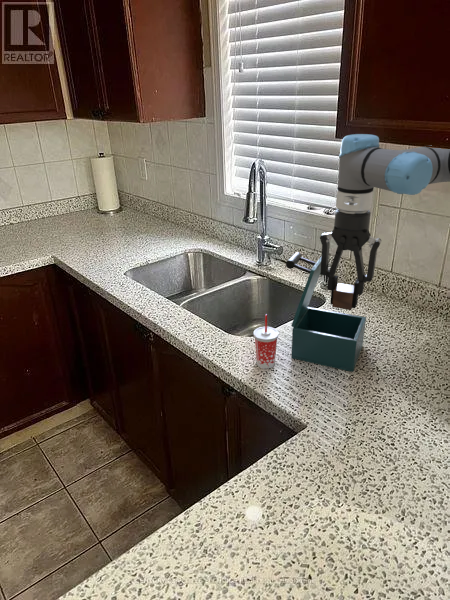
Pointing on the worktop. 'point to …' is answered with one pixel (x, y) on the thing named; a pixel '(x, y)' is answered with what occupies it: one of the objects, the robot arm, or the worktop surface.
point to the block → (343, 296)
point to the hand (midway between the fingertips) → (343, 303)
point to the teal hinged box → (328, 338)
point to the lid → (310, 284)
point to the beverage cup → (265, 345)
